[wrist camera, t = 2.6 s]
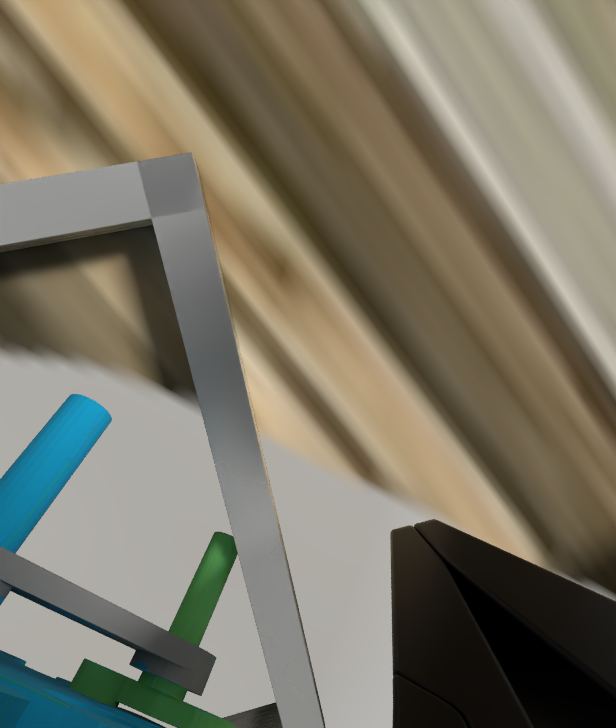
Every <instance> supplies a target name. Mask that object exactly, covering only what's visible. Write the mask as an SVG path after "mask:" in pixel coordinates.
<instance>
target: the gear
mask: <svg viewBox="0 0 616 728" xmlns="http://www.w3.org/2000/svg"><path fill="white" fill-rule="evenodd" d="M111 420H112V418H111V416H110V414H109V413H108V411H107V410H106V409H105V408H104V407H102V406H101V405H100V404H98V403H97V402H95V401H94V400H92V399H89V398H88V397H85V396H82V395H79V394H72V395H70V396H69V397H68V398H67V400H66V401H65V402H64V403H63V404H62V406H61V407H60V408H59V409H58V410H57V412H56V413H55V414H54V415H53V416H52V418H51V419H50V420H49V421H48V422H47V424H46V425H45V426H44V427H43V429H42V430H41V431H40V432H39V433H38V434H37V436H36V437H35V438H34V439H33V441H32V442H31V443H30V444H29V445H28V446H27V448H26V449H25V450H24V451H23V453H22V454H21V455H20V456H19V457H18V459H17V460H16V461H15V462H14V463H13V465H12V466H11V467H10V468H9V470H8V471H7V472H6V473H5V475H3V477H2V478H1V479H0V605H1V603H2V602H3V600H4V599H5V598H6V596H7V595H8V593H9V592H10V591H12V592H15V593H16V594H18V595H21V596H23V597H25V598H27V599H29V600H31V601H33V602H35V603H38V604H40V605H42V606H44V607H46V608H48V609H50V610H52V611H55V612H57V613H59V614H61V615H63V616H65V617H67V618H69V619H71V620H73V621H76V622H78V623H80V624H82V625H84V626H86V627H88V628H90V629H93V630H95V631H97V632H99V633H101V634H103V635H105V636H107V637H109V638H112V639H114V640H116V641H118V642H120V643H122V644H124V645H126V646H129V647H131V648H133V649H135V650H136V652H135V654H134V656H133V658H132V660H131V662H130V665H131V666H133V667H135V668H137V669H139V670H142V671H143V672H142V674H141V676H140V678H139V680H138V681H135V680H133V679H131V678H128V677H126V676H124V675H122V674H119V673H117V672H115V671H113V670H110V669H108V668H106V667H103V666H101V665H99V664H97V663H94V662H92V661H90V660H87V659H84V660H83V662H82V664H81V666H80V667H79V669H78V671H77V673H76V675H75V677H74V678H73V680H72V682H70V681H67V680H65V679H62V678H59V677H57V678H56V679H55V678H52V677H50V676H47V675H45V674H42V673H40V672H37V671H35V670H33V669H31V668H29V667H26V666H24V665H25V663H26V662H25V661H24V660H22V659H20V658H17V657H15V656H13V655H10V654H8V653H6V652H3V651H1V650H0V728H165V727H163V726H161V725H160V724H157V723H155V722H153V721H151V720H149V719H147V718H145V717H143V716H140V715H138V714H136V713H133V712H131V711H128V710H125V709H122V708H119V707H118V705H119V703H122V704H124V705H127V706H128V707H131V708H133V709H135V710H137V711H140V712H142V713H144V714H146V715H148V716H151V717H153V718H156V719H158V720H160V721H163V722H165V723H167V724H170V725H172V726H175V727H177V728H235V725H236V724H234V723H231V722H229V721H227V720H225V719H222V718H220V717H218V716H215V715H213V714H211V713H208V712H206V711H204V710H202V709H199V708H197V707H195V706H192V705H190V704H188V703H186V702H183V700H184V697H185V695H186V692H187V691H190V692H192V693H195V694H197V695H200V696H201V695H202V693H203V691H204V688H205V685H206V683H207V680H208V678H209V675H210V673H211V670H212V668H213V665H214V663H215V660H216V657H215V656H214V655H212V654H210V653H209V652H207V651H205V650H203V649H201V648H199V645H200V642H201V640H202V637H203V635H204V632H205V630H206V628H207V626H208V623H209V620H210V618H211V616H212V614H213V611H214V609H215V606H216V604H217V601H218V599H219V597H220V594H221V592H222V590H223V587H224V585H225V583H226V580H227V577H228V575H229V573H230V571H231V568H232V566H233V564H234V561H235V559H236V556H237V554H238V552H237V548H236V544H235V540H234V537H233V536H231V535H228V534H226V533H222V532H215V533H214V535H213V537H212V539H211V541H210V543H209V546H208V548H207V550H206V552H205V554H204V556H203V558H202V561H201V563H200V565H199V567H198V569H197V571H196V573H195V575H194V578H193V580H192V582H191V584H190V586H189V588H188V591H187V593H186V595H185V597H184V599H183V602H182V603H181V606H180V608H179V610H178V612H177V614H176V617H175V619H174V621H173V623H172V625H171V627H170V629H169V631H166V630H164V629H162V628H160V627H158V626H156V625H154V624H152V623H150V622H148V621H146V620H144V619H142V618H140V617H138V616H136V615H134V614H133V613H130V612H128V611H127V610H125V609H122V608H121V607H118V606H117V605H115V604H113V603H111V602H109V601H107V600H105V599H103V598H101V597H99V596H97V595H95V594H93V593H91V592H89V591H87V590H85V589H83V588H81V587H79V586H77V585H75V584H73V583H72V582H70V581H67V580H66V579H64V578H62V577H60V576H58V575H56V574H54V573H52V572H50V571H48V570H46V569H44V568H42V567H40V566H38V565H36V564H34V563H32V562H30V561H28V560H26V559H24V558H22V557H20V556H18V555H16V554H15V553H16V552H17V550H18V549H19V547H20V546H21V545H22V543H23V542H24V541H25V539H26V538H27V536H28V535H29V534H30V532H31V531H32V530H33V528H34V527H35V525H36V524H37V523H38V521H39V520H40V519H41V517H42V516H43V515H44V513H45V512H46V510H47V509H48V508H49V506H50V505H51V503H52V502H53V501H54V499H55V498H56V497H57V495H58V494H59V492H60V491H61V490H62V488H63V487H64V486H65V484H66V483H67V481H68V480H69V479H70V477H71V475H73V473H74V472H75V470H76V469H77V468H78V466H79V465H80V463H81V462H82V461H83V459H84V458H85V457H86V455H87V453H88V452H89V451H90V450H91V448H92V447H93V446H94V444H95V443H96V441H97V440H98V439H99V437H100V436H101V434H102V433H103V432H104V430H105V429H106V428H107V426H108V425H109V424H110V422H111Z"/></svg>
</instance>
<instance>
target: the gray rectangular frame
mask: <svg viewBox="0 0 616 728" xmlns="http://www.w3.org/2000/svg"><path fill="white" fill-rule="evenodd" d="M150 225H153V226H154V230H155V234H156V238H157V242H158V246H159V250H160V253H161V257H162V261H163V265H164V269H165V273H166V277H167V281H168V284H169V288H170V292H171V296H172V300H173V304H174V308H175V312H176V315H177V319H178V323H179V327H180V331H181V335H182V339H183V343H184V346H185V350H186V354H187V358H188V362H189V366H190V370H191V374H192V377H193V381H194V385H195V389H196V393H197V397H198V401H199V405H200V408H201V412H202V416H203V420H204V424H205V428H206V432H207V435H208V439H209V443H210V447H211V451H212V455H213V459H214V463H215V467H216V470H217V474H218V478H219V482H220V486H221V490H222V494H223V498H224V501H225V505H226V509H227V513H228V517H229V520H230V525H231V528H232V532H233V536H234V540H235V544H236V548H237V552H238V555H239V559H240V563H241V567H242V571H243V575H244V579H245V583H246V587H247V591H248V594H249V598H250V602H251V606H252V610H253V614H254V618H255V622H256V625H257V629H258V633H259V637H260V641H261V645H262V648H263V653H264V656H265V660H266V664H267V668H268V672H269V676H270V679H271V683H272V687H273V691H274V695H275V699H276V703H272V704H269V705H265V706H262V707H259V708H255V709H252V710H249V711H245V712H242V713H238V714H235V715H231V716H228V717H224V718H222V719H225V720H227V721H229V722H231V723H234V724H236V725H235V728H325V723H324V718H323V713H322V709H321V705H320V700H319V696H318V691H317V687H316V683H315V678H314V674H313V669H312V665H311V661H310V656H309V652H308V648H307V643H306V639H305V635H304V630H303V626H302V622H301V617H300V613H299V608H298V604H297V599H296V595H295V591H294V587H293V582H292V578H291V573H290V569H289V565H288V561H287V556H286V551H285V547H284V543H283V539H282V534H281V530H280V525H279V521H278V517H277V512H276V508H275V503H274V499H273V495H272V490H271V486H270V481H269V477H268V473H267V468H266V464H265V460H264V455H263V451H262V446H261V442H260V438H259V433H258V429H257V425H256V420H255V416H254V411H253V407H252V403H251V398H250V394H249V390H248V385H247V381H246V376H245V372H244V368H243V363H242V359H241V355H240V350H239V346H238V342H237V337H236V333H235V328H234V324H233V320H232V315H231V311H230V307H229V302H228V298H227V293H226V289H225V285H224V280H223V276H222V272H221V267H220V263H219V258H218V254H217V250H216V245H215V241H214V237H213V232H212V228H211V223H210V219H209V215H208V210H207V206H206V202H205V197H204V193H203V188H202V184H201V180H200V175H199V171H198V167H197V164H196V161H195V159H194V157H193V154H192V152H191V153H185V154H179V155H173V156H167V157H161V158H155V159H149V160H143V161H137V162H131V163H125V164H119V165H114V166H108V167H102V168H96V169H90V170H84V171H78V172H72V173H66V174H60V175H54V176H48V177H42V178H36V179H30V180H24V181H18V182H12V183H6V184H0V253H1V252H6V251H12V250H17V249H23V248H28V247H34V246H39V245H45V244H50V243H56V242H61V241H67V240H72V239H78V238H83V237H89V236H94V235H100V234H106V233H111V232H117V231H122V230H128V229H133V228H139V227H144V226H150Z"/></svg>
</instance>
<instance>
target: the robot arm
mask: <svg viewBox="0 0 616 728" xmlns="http://www.w3.org/2000/svg"><path fill="white" fill-rule="evenodd" d="M391 585H392V586H391V589H392V646H393V728H616V601H614V600H612V599H609V598H607V597H605V596H603V595H601V594H598V593H596V592H594V591H592V590H590V589H587V588H585V587H583V586H581V585H579V584H576V583H574V582H572V581H570V580H568V579H565V578H563V577H561V576H559V575H557V574H554V573H552V572H550V571H548V570H546V569H543V568H541V567H539V566H537V565H535V564H532V563H530V562H528V561H526V560H524V559H522V558H519V557H517V556H515V555H513V554H511V553H508V552H506V551H504V550H502V549H500V548H497V547H495V546H493V545H491V544H489V543H486V542H484V541H482V540H480V539H478V538H475V537H473V536H471V535H469V534H467V533H464V532H462V531H460V530H458V529H456V528H453V527H451V526H449V525H447V524H445V523H443V522H440V521H438V520H435V519H432V520H428V521H425V522H421V523H417V524H415V525H414V527H413V526H406V527H402V528H398V529H394V530H392V531H391Z"/></svg>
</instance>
